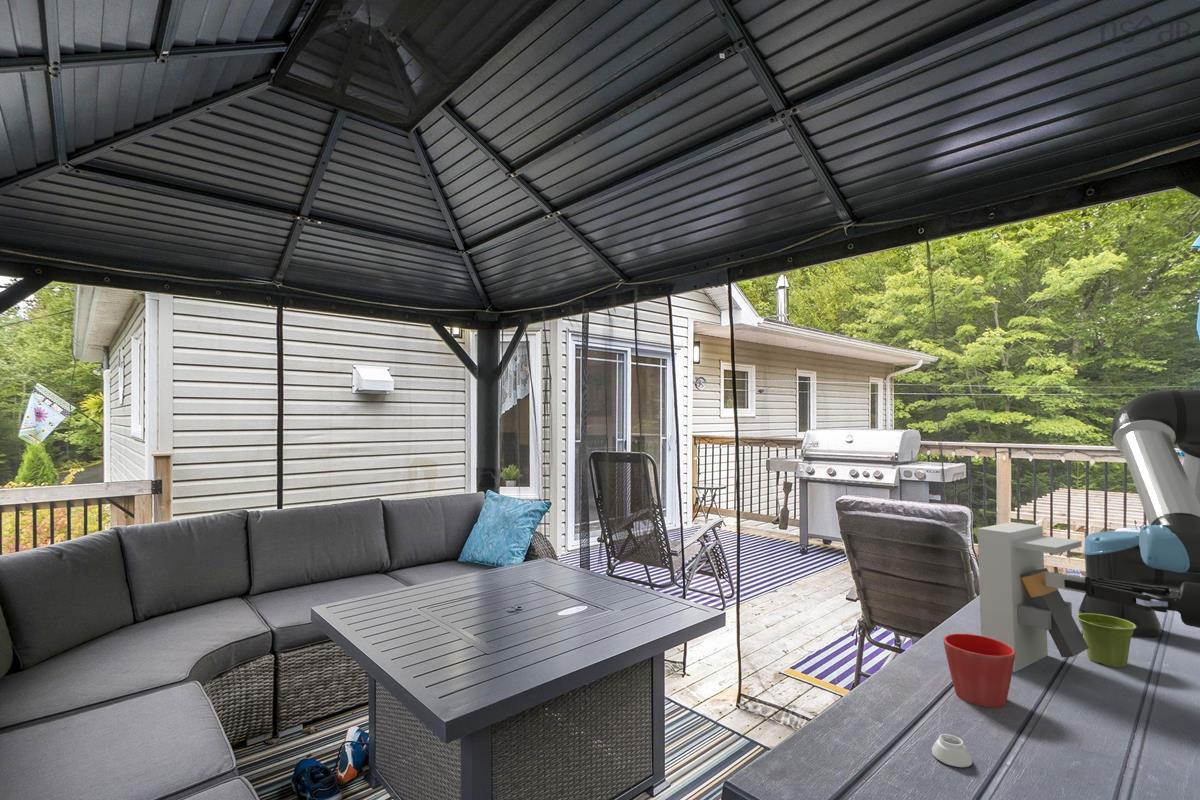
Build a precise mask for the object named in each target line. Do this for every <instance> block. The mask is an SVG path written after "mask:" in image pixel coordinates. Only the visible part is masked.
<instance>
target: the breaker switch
mask: <svg viewBox="0 0 1200 800" xmlns="http://www.w3.org/2000/svg"><path fill="white" fill-rule="evenodd" d="M1046 572H1050V570H1048V568H1047V567H1044V569H1039V570H1035V571H1032V572H1029V573H1025V574H1022V575H1020V576H1021V579H1022V580H1023V582H1024V584H1025V586H1026V588H1027V590H1028V592H1029V594H1030V596H1031V597H1032V599H1033V601H1034V603H1035V605H1036V607H1037V608H1040V609H1044V610H1049V611H1051V624H1052V629H1050V630H1047V632H1048V633H1049V634H1050V636H1051V639H1052V640H1053V643H1054V645H1055V646H1056V649H1057V650H1058V652H1059V654H1060V656H1061V658H1062V659H1063V658H1073V657H1075V656H1077V655H1079V654H1080V653H1083V652H1084V651H1087V649H1088V648H1089V647H1088V645H1087V643H1086V641H1085V639H1084V635H1083V633H1082V632H1081V630H1080V628H1079V627H1078V624H1077V623H1076V621H1075V619H1074V618H1073V617H1074V616H1073V614H1072V615H1071V613H1070V611H1069V609H1068V608H1067V606H1066V604H1065V602H1064V601H1065V600H1064V599H1063V596H1062V594H1061V593H1060V591H1059V588H1054V587H1049V586H1046V577H1045V573H1046Z"/></svg>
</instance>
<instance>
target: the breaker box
mask: <svg viewBox="0 0 1200 800" xmlns="http://www.w3.org/2000/svg"><path fill="white" fill-rule="evenodd" d="M1043 532H1044V531H1043V525H1039V524H1029V523H1021V522H1014V521H1009V522H1004V523H998V524H994V525H988V526H984V527H978V528H977V547H978V548H977V552H978V553H977V555H978V578H979V586H978V588H979V607H980V608H979V613H980V636H984V637H989V638H992V639H995V640H998V641H1001V642H1003V643H1005V644H1007V645H1009V646H1010V647H1012V648H1013V649H1014V651H1015V659H1014V665H1013V671H1012V673H1016V672H1019V671H1020V670H1022V669H1025V668H1026V667H1028V666H1030V665H1032V664H1034V663H1036V662H1038V661H1039V660H1042V659H1044V658H1045V657H1047V656H1048V653H1049V652H1048V651H1049V650H1048V634H1047V633H1048V630H1050V629H1052V624H1051V611H1049V610H1044V609H1040V608H1037V607H1036V605H1035V603H1034V601H1033V599H1032V597H1031V596H1030V594H1029V592H1028V590H1027V588H1026V586H1025V584H1024V582H1023V580H1022V579H1021V576H1020V575H1022V574H1025V573H1029V572H1032V571H1035V570H1039V569H1044V568H1045V559H1044V557H1045V556H1044V555H1045V553H1047V554H1048V553H1049V554H1055V555H1058V554H1061V553H1064V552H1068V551H1071V550H1075V549H1079V548H1081V547H1083V546H1082V545H1083V543H1082V540H1079V539H1070V538H1063V537H1057V536H1056V537H1054V536H1048V535H1044V533H1043ZM1064 602H1065V604H1066V606H1067V608H1068V609H1069V611H1070V613H1071V615H1072V616H1073V612H1072V609H1073V606H1072V602H1070V601H1066V600H1064Z"/></svg>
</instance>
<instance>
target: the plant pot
mask: <svg viewBox="0 0 1200 800" xmlns="http://www.w3.org/2000/svg"><path fill="white" fill-rule="evenodd" d="M1076 619H1077V620H1078V621H1079V624H1080V627H1081V630H1082V635H1083V638H1084V640H1085V641H1086V643H1087V645H1088V647H1089V648H1088V649H1086V654H1087V658H1088V660H1090V661H1092V662H1094V663H1097V664H1102V665H1105V666H1106V667H1110V668H1125V667H1126V666H1128V660H1129V655H1130V654H1129V652H1130V646H1131V639H1132V637H1133V636H1132V635H1133V631H1134V629H1136V625H1135V624H1134V623H1132V622H1130V621H1127V620H1124V619H1121V618H1117V617H1113V616H1107V615H1101V614H1091V613H1084V614H1079V613H1077V615H1076Z"/></svg>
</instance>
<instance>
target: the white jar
mask: <svg viewBox="0 0 1200 800" xmlns="http://www.w3.org/2000/svg"><path fill="white" fill-rule="evenodd" d="M964 744H965V743H964V741H963V739H961V738H960V737H957V736H956V735H953V734H949V733H943V734H942V733H941V734H940V735H939V736H938V739H936V741H935V743H934V744H933V746H932V747H931V754H932V755H933V756H934V758H935V759H937V760H938V761H940V762H941V763H943V764H945V765H948V766H951V767H956V768H968V767H970V766H972V764H973V758H972V757H971V754H970V753H969V750H968V749H967V746H966V745H964Z"/></svg>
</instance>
